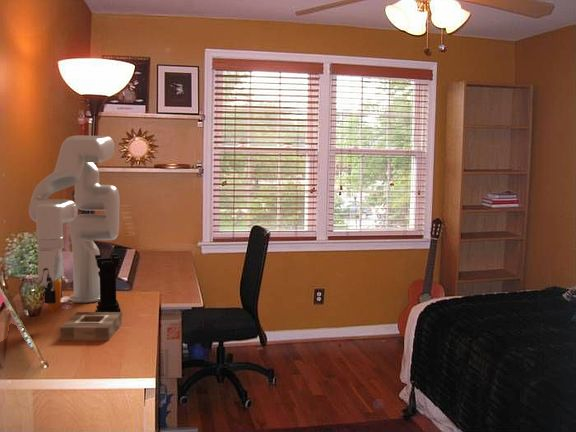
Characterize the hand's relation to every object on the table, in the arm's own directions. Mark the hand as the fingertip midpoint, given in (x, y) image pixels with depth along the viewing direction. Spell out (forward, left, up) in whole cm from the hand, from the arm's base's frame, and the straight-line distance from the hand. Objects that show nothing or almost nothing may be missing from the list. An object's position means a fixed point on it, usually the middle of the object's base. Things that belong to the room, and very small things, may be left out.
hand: (53, 299), depth 190 cm
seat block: (+4, +13, -9) cm, 16 cm away
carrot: (0, 0, -5) cm, 5 cm away
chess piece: (-15, +13, -9) cm, 22 cm away
